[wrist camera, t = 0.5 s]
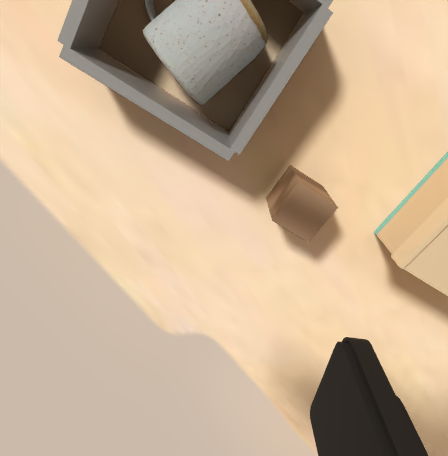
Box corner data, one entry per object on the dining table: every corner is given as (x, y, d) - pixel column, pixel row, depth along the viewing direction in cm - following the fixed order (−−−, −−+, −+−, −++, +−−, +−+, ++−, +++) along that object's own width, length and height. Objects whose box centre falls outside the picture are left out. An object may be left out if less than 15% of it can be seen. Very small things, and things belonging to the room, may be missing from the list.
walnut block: (290, 165, 39) (300, 183, 33) (322, 186, 40) (337, 207, 34) (266, 197, 40) (272, 220, 35) (297, 217, 42) (308, 242, 36)
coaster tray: (155, -122, 28) (135, -170, 22) (319, 8, 32) (341, -1, 26) (84, 52, 34) (52, 53, 28) (232, 145, 38) (233, 164, 31)
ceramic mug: (269, 42, 33) (280, 39, 27) (203, 101, 36) (197, 113, 29) (193, -67, 30) (183, -104, 23) (126, 6, 32) (98, -7, 25)
